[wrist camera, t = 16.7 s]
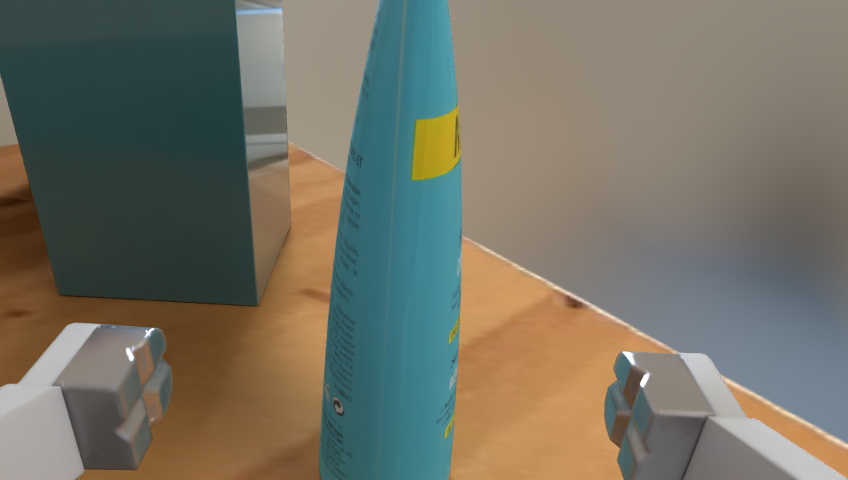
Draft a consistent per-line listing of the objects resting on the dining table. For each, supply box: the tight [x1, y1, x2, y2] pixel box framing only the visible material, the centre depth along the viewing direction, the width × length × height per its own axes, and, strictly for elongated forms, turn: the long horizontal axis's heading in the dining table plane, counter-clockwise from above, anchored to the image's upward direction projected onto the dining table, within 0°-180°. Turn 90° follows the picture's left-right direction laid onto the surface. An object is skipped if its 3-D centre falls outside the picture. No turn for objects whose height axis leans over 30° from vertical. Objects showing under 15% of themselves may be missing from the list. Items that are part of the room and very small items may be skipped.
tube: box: [319, 0, 462, 480], centre depth 19 cm, size 7×5×19 cm, turn 9°
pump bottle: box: [0, 0, 291, 306], centre depth 31 cm, size 10×10×18 cm
